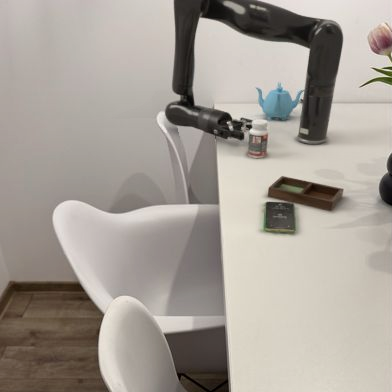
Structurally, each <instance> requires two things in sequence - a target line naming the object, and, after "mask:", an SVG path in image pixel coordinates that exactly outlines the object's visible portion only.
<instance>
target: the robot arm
mask: <svg viewBox="0 0 392 392" xmlns="http://www.w3.org/2000/svg"><path fill="white" fill-rule="evenodd" d="M173 19H174V55H173V66H172V78H171V90H172V92H173V94H175V95H178V96H179V99H178V100H174V101H171V102H169V103H167V105H166V106H165V108H164V116H165V118H166V120H167V121H168V122H169V124H171V125H174V126H177V127H178V126H179V127H184V128H185V127H186V128H187V127H189V128H194V129H196V130H200V131H202V132H203V133H206V134H210V135H212V136H215V137H217V138H220V139H223V140H228V139H235V140H239V141H244V140H245V133H247V132H250V129H252V121H253V120H254V119H250V118H246V117H240V118H239V119H237V118H233V117H232V115H231V114H230V113H229V112H228V111H225V110H220V109H217V108H213V107H207V106H202V105H199V104H196V103H195V93H194V81H195V80H194V79H195V72H196V71H195V70H196V57H195V56H196V55H195V53H196V51H195V45H196V36H197V35H196V34H197V29H198V26H199V22H200V19H204V20H205V19H206V20H211V21H216V22H219V23H221V24H224V25H226V26H227V27H229V28H230V29H232V30H234V31H236V33H239V34H241V35H243V36H245V37H250V38H253V39H255V40H259V41H264V42H272V43H289V44H294V45H299V46H300V47H303V48H306V49H309V52H308V60H307V68H306V74H305V81H304V82H305V83H304V89H303V90H304V91H303V97H302V98H299V101H301V103H302V104H301V113H300V120H299V126H298V135H297V141H298V142H300V143H303V144H306V145H321V144H324V143H326V141H327V136H328V130H329V125H330V124H329V123H330V117H331V111H332V106H333V102H334V101H333V100H334V95H335V89H336V88H335V87H336V83H337V77H338V73H339V68H340V62H341V57H342V51H343V46H344V45H343V44H344V33H343V28H342V27H341V25H340V24H339V23H338V22H337V21H336V20H333V19H327V18H318V17H312V16H306V15H302V14H298V13H297V12H294V11H291V10H289V9H286V8H285V7H281V6H278V5H276V4H273V3H269V2H266V1H262V0H173Z"/></svg>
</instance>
